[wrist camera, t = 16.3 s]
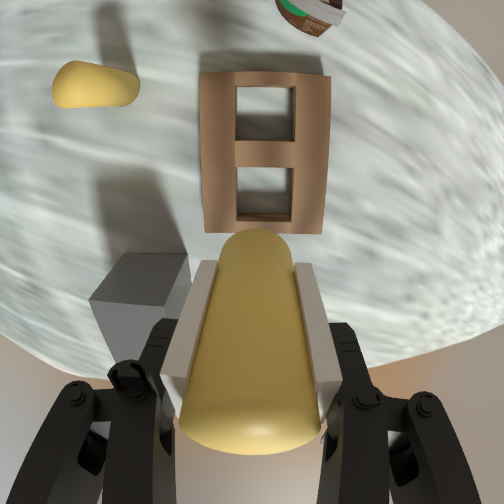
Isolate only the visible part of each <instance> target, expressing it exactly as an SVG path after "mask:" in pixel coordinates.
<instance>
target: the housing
mask: <svg viewBox="0 0 504 504" xmlns="http://www.w3.org/2000/svg"><path fill="white" fill-rule="evenodd" d="M191 285H192V283H191V276H190V268H189V260H188V254H169V253H125V254H124V255H123V257H122V258H121V259H120V260H119V261H118V263H117V264H116V265H115V266H114V268H113V269H112V270H111V271H110V273H109V274H108V275H107V276H106V278H105V279H104V280H103V281H102V283H101V284H100V285H99V287H98V288H97V289H96V291H95V292H94V293H93V294H92V296H91V297H90V298H89V303H90V305H91V308H92V311H93V313H94V316H95V318H96V320H97V323H98V325H99V328H100V330H101V332H102V334H103V337H104V339H105V341H106V343H107V345H108V348H109V350H110V352H111V354H112V356H113V358H114V360H115V362H116V363H118V362H121V361H123V360H129V359H133V360H139V358H140V355H141V353H142V351H143V348H144V346H146V342H147V339H148V338H149V335H150V332H151V330H152V328H153V326H154V325H155V324H156V323H157V322H158V321H159V320H160V319H161V318H170V319H179V317H180V315H181V312H182V309H183V306H184V304H185V301H186V298H187V296H188V293H189V290H190V288H191Z"/></svg>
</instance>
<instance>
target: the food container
mask: <svg viewBox="0 0 504 504" xmlns="http://www.w3.org/2000/svg"><path fill="white" fill-rule="evenodd" d="M276 5H277V7H278V10H279V11H280V13H281V15H282V16H283V17H284V18H285V19H286V20H287V21H288V22H289V23H290V24H291V25H293V26H294V27H295V28H297V29H299V30H301V31H302V32H305V33H307V34H309V35H312V36H316V37H319V36H320V35H321V34H323V33H324V32H325V31H326V30H327V29H328V28H329V27H331V26H332V25H335V26H338V25H339V24H340V22H341V21H342V19H343V16H344V15H345V13H346V12H345V11H342V0H276Z"/></svg>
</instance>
